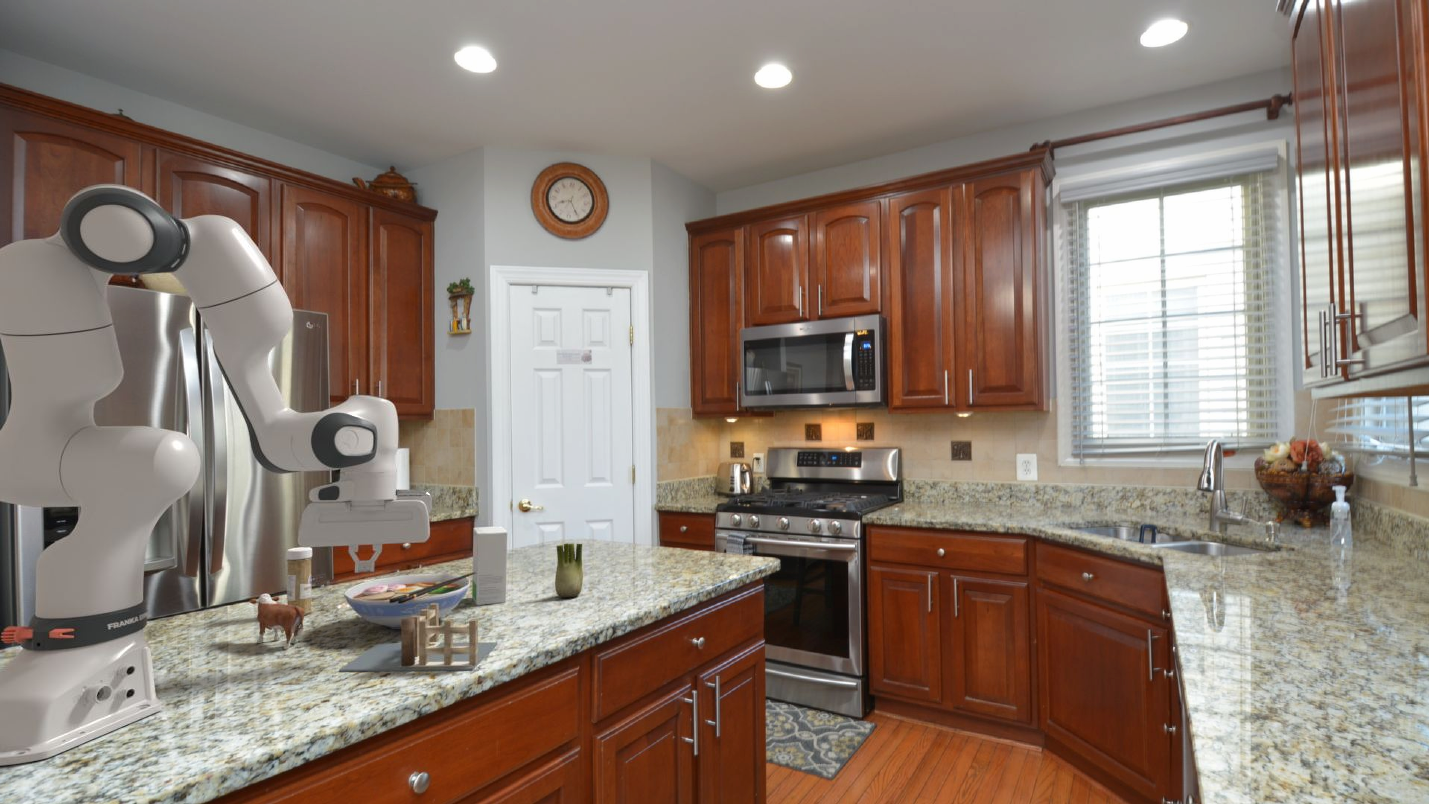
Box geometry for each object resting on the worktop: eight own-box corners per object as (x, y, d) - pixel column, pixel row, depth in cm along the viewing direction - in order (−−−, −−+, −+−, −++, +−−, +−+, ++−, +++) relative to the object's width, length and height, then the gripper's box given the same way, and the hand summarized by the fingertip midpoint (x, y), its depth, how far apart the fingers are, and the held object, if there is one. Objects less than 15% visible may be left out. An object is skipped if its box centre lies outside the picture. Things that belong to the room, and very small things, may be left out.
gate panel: (417, 657, 116) (417, 617, 116) (409, 657, 116) (409, 617, 116) (438, 640, 124) (438, 603, 125) (431, 640, 124) (431, 603, 125)
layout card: (472, 670, 112) (472, 667, 112) (339, 671, 112) (339, 669, 112) (497, 643, 125) (497, 641, 125) (377, 645, 125) (377, 643, 125)
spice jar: (312, 614, 145) (312, 548, 145) (286, 618, 142) (287, 551, 143) (310, 609, 149) (311, 545, 149) (285, 613, 146) (285, 547, 146)
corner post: (411, 668, 113) (411, 621, 113) (399, 668, 113) (399, 621, 113) (416, 664, 115) (417, 617, 115) (404, 664, 115) (404, 617, 115)
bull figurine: (269, 634, 132) (269, 590, 132) (310, 645, 125) (310, 598, 125) (243, 640, 128) (244, 595, 128) (284, 652, 121) (284, 604, 121)
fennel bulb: (583, 594, 160) (583, 540, 161) (580, 599, 155) (580, 544, 156) (557, 594, 160) (557, 541, 160) (554, 600, 155) (553, 545, 155)
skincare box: (471, 597, 158) (471, 527, 158) (502, 594, 161) (502, 525, 161) (476, 606, 150) (476, 532, 151) (508, 602, 153) (508, 530, 154)
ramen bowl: (402, 604, 152) (402, 566, 153) (497, 610, 147) (497, 571, 147) (309, 639, 128) (309, 594, 129) (417, 648, 123) (417, 601, 123)
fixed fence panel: (478, 662, 114) (477, 618, 114) (475, 665, 113) (475, 620, 113) (422, 663, 114) (422, 619, 114) (419, 665, 113) (419, 621, 113)
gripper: (430, 488, 130) (427, 565, 128) (301, 490, 120) (297, 573, 119) (434, 489, 124) (431, 569, 123) (299, 491, 115) (294, 578, 113)
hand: (364, 571), depth 121 cm, fingers closed
